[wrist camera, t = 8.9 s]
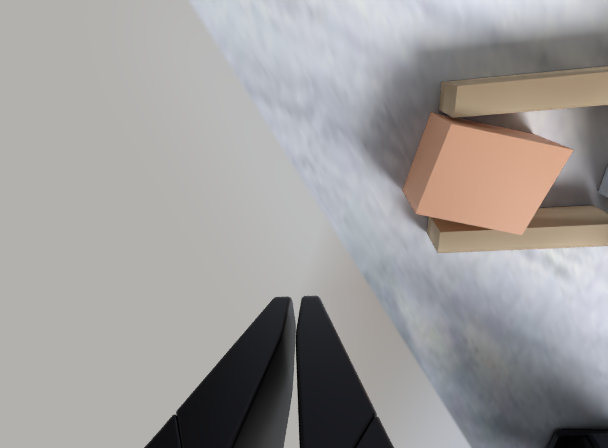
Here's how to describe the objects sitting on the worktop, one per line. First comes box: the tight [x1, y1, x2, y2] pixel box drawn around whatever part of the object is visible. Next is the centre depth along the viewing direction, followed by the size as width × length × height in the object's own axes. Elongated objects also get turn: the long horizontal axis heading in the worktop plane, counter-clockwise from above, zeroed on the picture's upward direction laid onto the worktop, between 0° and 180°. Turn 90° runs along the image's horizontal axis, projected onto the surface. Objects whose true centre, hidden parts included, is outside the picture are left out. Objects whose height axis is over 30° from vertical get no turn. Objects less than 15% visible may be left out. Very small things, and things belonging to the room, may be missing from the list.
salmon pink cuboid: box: [403, 112, 573, 235], centre depth 15 cm, size 4×5×3 cm
